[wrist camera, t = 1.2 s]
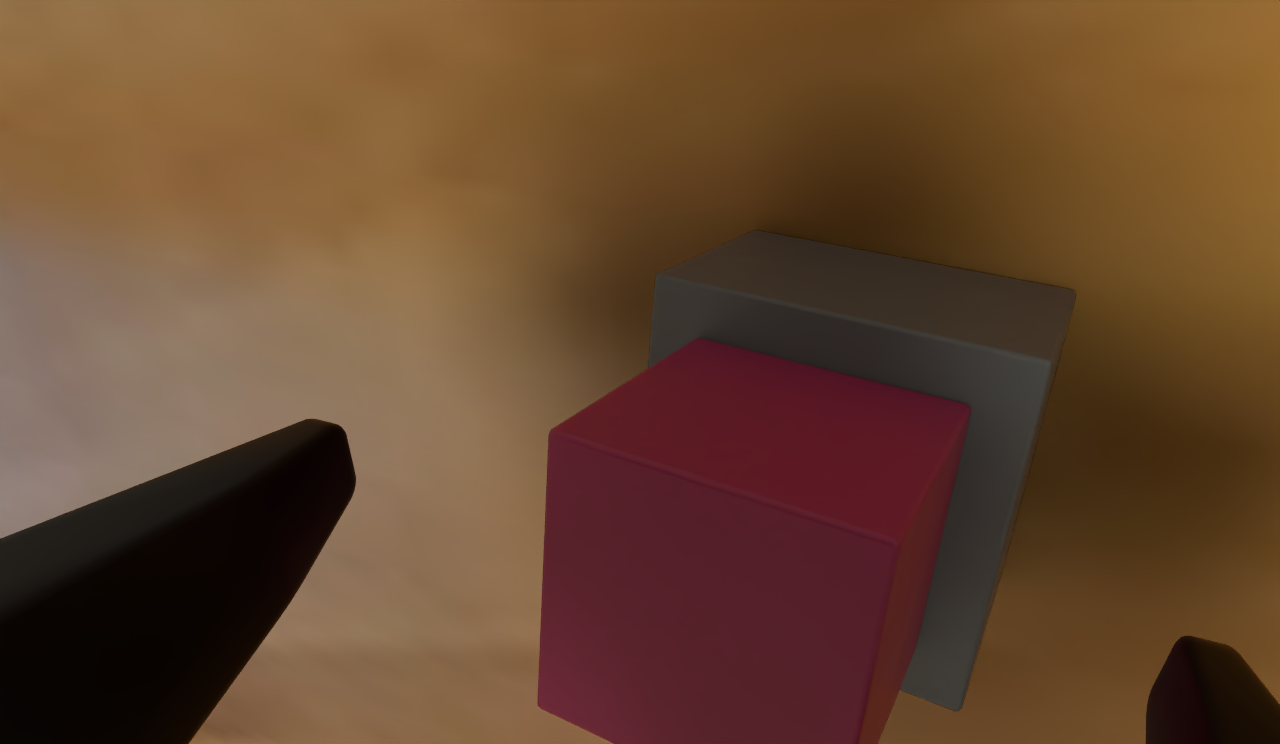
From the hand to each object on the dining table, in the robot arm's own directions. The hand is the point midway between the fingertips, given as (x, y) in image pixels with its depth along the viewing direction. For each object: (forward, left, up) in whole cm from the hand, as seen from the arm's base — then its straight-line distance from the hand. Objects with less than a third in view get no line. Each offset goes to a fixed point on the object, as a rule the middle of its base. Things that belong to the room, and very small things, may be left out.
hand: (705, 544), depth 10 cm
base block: (-3, +1, -12) cm, 12 cm away
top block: (-3, +1, -7) cm, 7 cm away
